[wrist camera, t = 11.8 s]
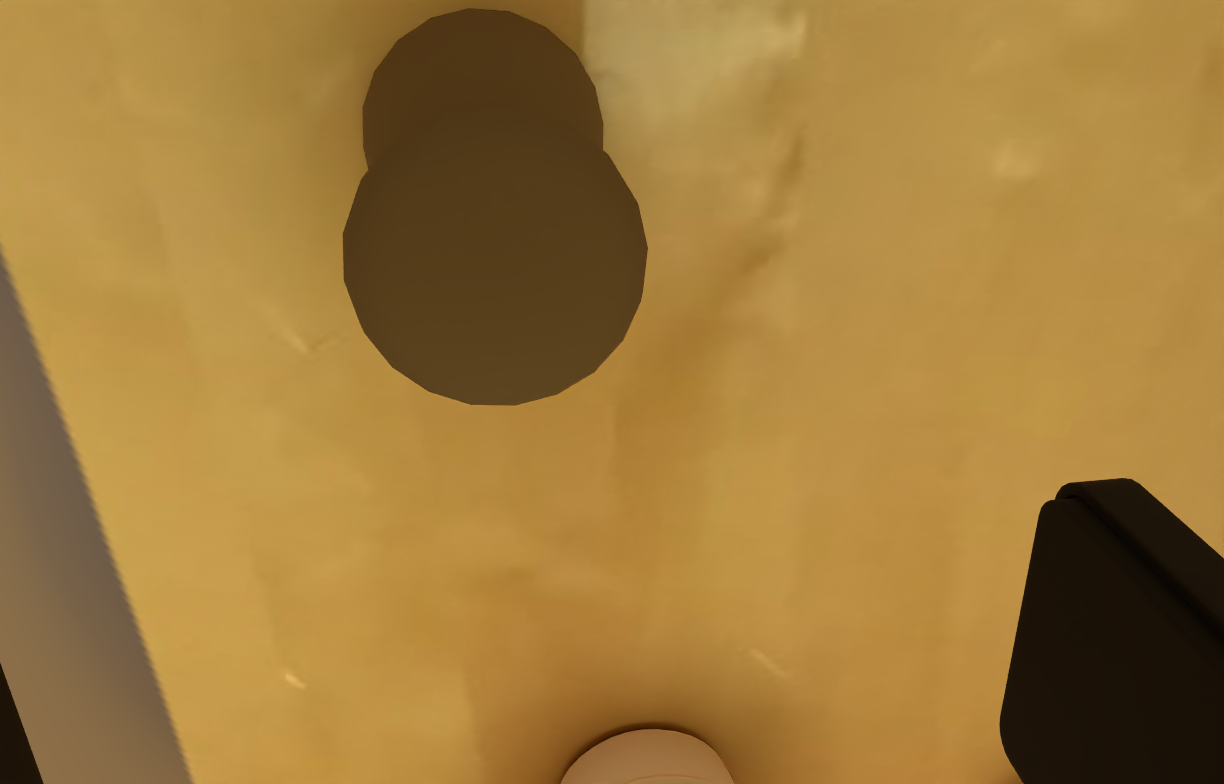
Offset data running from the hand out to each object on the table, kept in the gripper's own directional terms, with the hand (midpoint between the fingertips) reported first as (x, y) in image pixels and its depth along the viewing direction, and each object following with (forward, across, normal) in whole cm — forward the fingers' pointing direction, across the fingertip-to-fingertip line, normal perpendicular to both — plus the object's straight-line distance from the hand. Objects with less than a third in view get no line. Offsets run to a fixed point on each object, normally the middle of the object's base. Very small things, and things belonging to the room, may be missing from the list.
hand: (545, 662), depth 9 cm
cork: (+19, 0, -1) cm, 19 cm away
